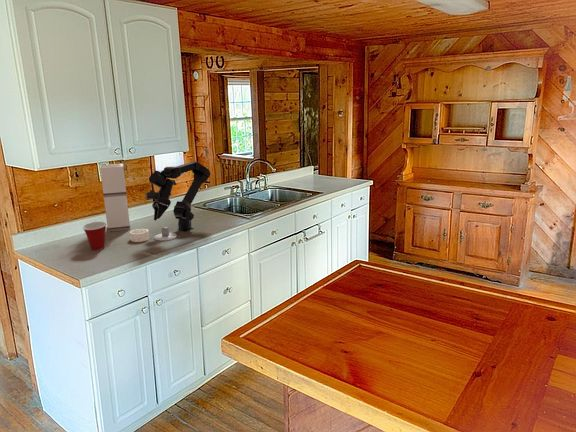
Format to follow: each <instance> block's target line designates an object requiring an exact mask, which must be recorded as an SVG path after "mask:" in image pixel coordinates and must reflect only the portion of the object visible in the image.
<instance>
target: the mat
mask: <svg viewBox="0 0 576 432" xmlns="http://www.w3.org/2000/svg"><path fill="white" fill-rule="evenodd" d="M181 237H182V236H181V235H177V237H176V238H175V239H174V240H176V239H179V238H181ZM149 239H150V240H155V236H153V237H151V238H150V237H149ZM155 241H156V240H155ZM157 241H158V242H160V241H159V240H157ZM169 241H170V240H167V241H161V242H162V243H167V242H169Z"/></svg>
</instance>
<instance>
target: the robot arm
mask: <svg viewBox="0 0 576 432" xmlns="http://www.w3.org/2000/svg"><path fill="white" fill-rule="evenodd" d="M190 171H191V172H192V173H193V176H192V177H193V180H192V182H191V184H190V186H189V188H188V189H187V191H186V193H185V195H184V196H183V199H182V200H181V201H178V200H177V201H176V203H175V205H174V206H173V211H172V212H173V215H174V218H175V220H178V221H177V224H178V225H177V226H178V228H177V229H176V231H180V232H188V231H191V230H194V227H192V220H193V219H194V218H195V217H194V216H195V214H194V213H193V212H192V206H191V205H192V204H193V201H194V199H195V197H196V196H197V194H198V192H199V190H200V188H201V186H202V185H203V184H204V183H206V182H207V181H208V180H209V178H210V177H211V171H210V170H209V168H207V167H205V166H204V165H203V164H201V163H200V162H198V161H194V160H192V161H189V162H186V163H183V164H179V165H177V166H166V167H164V168H163V169H162V171H159V170H154V172H153V173H151V174H150V175H149V177H148V181H149V183H150V184H151V185H154V186H156V187H158V188H159V190H158V191H157V192H156V191H155V190H154V189H150V191H149V192H148V191H147V192H146V193H145V199H146V200H145V201H149V200H154V201H153V202H152V205H151V206H152V209H153V210H154V212H153V213H154V214H153V221H155V222H156V221H157V220H160V219H161V217H162V216H163V214H164V213H165V212H166V211H167V210H168V209H169V207H170V206H171V203H172V201H171V200H170V196H171V195H172V190H173V187H174V186H177V182H176V180H175V179H178V178H179V177H181V176H182V175H183V174H186V173H188V172H190Z"/></svg>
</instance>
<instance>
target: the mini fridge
mask: <svg viewBox="0 0 576 432" xmlns="http://www.w3.org/2000/svg"><path fill="white" fill-rule="evenodd" d="M99 169H100V175H101V177H100V178H101V184H102V193H103V200H104V201H103V202H104V203H103V204H104V210H105V217H106V218H105V219H106V228H107V232H108V233H109V232H110V233H112V232H118V231H127V230H128V231H129V230H130V231H131V225H130V215H129V207H128V196H127V186H126V180H125V179H126V178H125V177H126V176H125V170H124V163H115V164H113V163H112V164H100V168H99ZM111 231H112V232H111Z"/></svg>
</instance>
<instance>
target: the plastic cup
mask: <svg viewBox="0 0 576 432" xmlns="http://www.w3.org/2000/svg"><path fill="white" fill-rule="evenodd" d="M81 228H82V230H84V233H85V235H86V238H87V240H88V243H89V246H90V249H91V250H93V251H101V250H103V249H105V245H106V244H105V243H106V242H105V241H106V230H107V229H106V228H107V221H93V222H89V223H85V224H84V225H82V227H81Z"/></svg>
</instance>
